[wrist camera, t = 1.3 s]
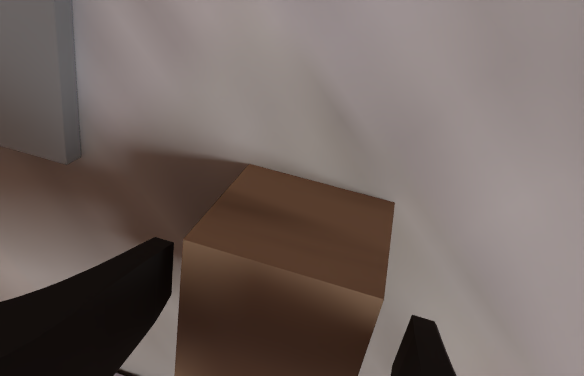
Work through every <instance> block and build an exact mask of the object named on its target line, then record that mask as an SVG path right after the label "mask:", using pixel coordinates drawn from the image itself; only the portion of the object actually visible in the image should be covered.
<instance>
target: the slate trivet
mask: <svg viewBox="0 0 584 376" xmlns="http://www.w3.org/2000/svg"><path fill="white" fill-rule="evenodd" d="M0 146H2V147H5V148H9V149H12V150H16V151H19V152H23V153H26V154H30V155H33V156H37V157H41V158H44V159H48V160H51V161H55V162H58V163H62V164H65V165H67V164H69V163H71V162H73V161H74V160H76V159H78V158H80V157H81V148H80V131H79V115H78V98H77V81H76V64H75V48H74V31H73V14H72V0H0Z"/></svg>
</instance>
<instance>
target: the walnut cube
mask: <svg viewBox="0 0 584 376" xmlns="http://www.w3.org/2000/svg"><path fill="white" fill-rule="evenodd" d="M394 205H395V203H394V202H390V201H387V200H383V199H379V198H375V197H372V196H368V195H364V194H360V193H357V192H353V191H349V190H345V189H342V188H338V187H334V186H330V185H327V184H323V183H319V182H315V181H312V180H308V179H304V178H300V177H297V176H293V175H289V174H285V173H281V172H278V171H274V170H270V169H266V168H263V167H259V166H255V165H251V164H249V165H248V166H247V167H246V168H245V169H244V171H243V172H242V173H241V174H240V175H239V176H238V177H237V179H236V180H235V181H234V182H233V183H232V184H231V185H230V187H229V188H228V189H227V190H226V191H225V192H224V193H223V195H222V196H221V197H220V198H219V199H218V200H217V201H216V203H215V204H214V205H213V206H212V207H211V208H210V209H209V210H208V212H207V213H206V214H205V215H204V216H203V217H202V218H201V220H200V221H199V222H198V223H197V224H196V225H195V226H194V228H193V229H192V230H191V231H190V232H189V233H188V234H187V236H186V237H185V238H184V239H183V249H182V265H181V281H180V297H179V313H178V329H177V345H176V361H175V376H358V374H359V371H360V368H361V365H362V362H363V359H364V356H365V353H366V350H367V347H368V344H369V342H370V339H371V336H372V333H373V330H374V327H375V324H376V321H377V318H378V315H379V312H380V309H381V306H382V303H383V300H384V294H385V285H386V276H387V267H388V258H389V250H390V241H391V232H392V223H393V214H394Z"/></svg>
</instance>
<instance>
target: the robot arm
mask: <svg viewBox="0 0 584 376" xmlns="http://www.w3.org/2000/svg"><path fill="white" fill-rule="evenodd" d="M173 250H174V243H173V242H170V241H167V240H163V239H160V238H157V237H155V238H152V239H150V240H148V241H146V242H144V243H142V244H140V245H138V246H136V247H134V248H132V249H130V250H128V251H126V252H124V253H122V254H120V255H118V256H116V257H114V258H112V259H110V260H108V261H106V262H104V263H102V264H100V265H98V266H95V267H93V268H91V269H89V270H86V271H84V272H82V273H79V274H77V275H75V276H73V277H70V278H68V279H66V280H63V281H61V282H58V283H56V284H53V285H51V286H48V287H45V288H43V289H40V290H37V291H34V292H31V293H28V294H25V295H22V296H19V297H16V298H13V299H9V300H6V301H2V302H0V376H124V375H121V374H118V373H116V372H117V371H118V369H119V368H120V367H121V366H122V364H123V363H124V362H125V360H126V359H127V358H128V357H129V355H130V354H131V353H132V352H133V350H134V349H135V348H136V346H137V345H138V344H139V343H140V341H141V340H142V339H143V337H144V336H145V335H146V334H147V332H148V331H149V330H150V328H151V327H152V326H153V324H154V323H155V321H156V320H157V318H158V317H159V315H160V313H161V312H162V310H163V308H164V306H165V305H166V303H167V301H168V299H169V298H170V296H171V292H172V271H173ZM391 376H456V374H455V371H454V369H453V367H452V364H451V362H450V359H449V357H448V355H447V352H446V349H445V347H444V344H443V342H442V339H441V336H440V333H439V331H438V328H437V325H436V324H435V322H434V321H431V320H428V319H425V318H421V317H418V316H415V315H412V316H411V319H410V322H409V324H408V327H407V329H406V332H405V334H404V337H403V340H402V342H401V345H400V347H399V350H398V352H397V355H396V357H395V360H394V363H393V365H392V372H391Z"/></svg>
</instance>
